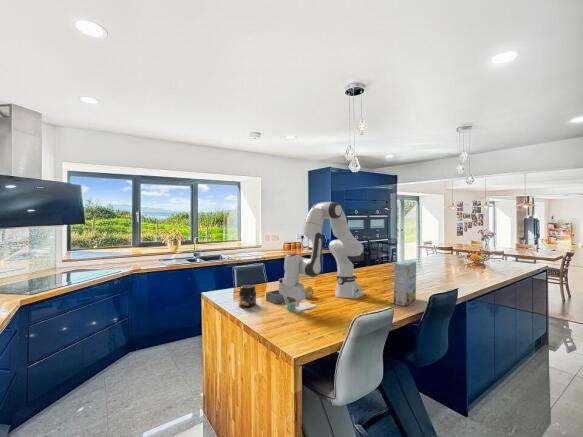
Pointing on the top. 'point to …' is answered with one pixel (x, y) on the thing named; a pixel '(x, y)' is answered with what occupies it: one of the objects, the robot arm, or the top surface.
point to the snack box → (405, 282)
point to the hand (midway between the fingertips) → (291, 304)
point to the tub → (276, 297)
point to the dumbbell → (308, 292)
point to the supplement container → (247, 296)
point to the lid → (300, 306)
